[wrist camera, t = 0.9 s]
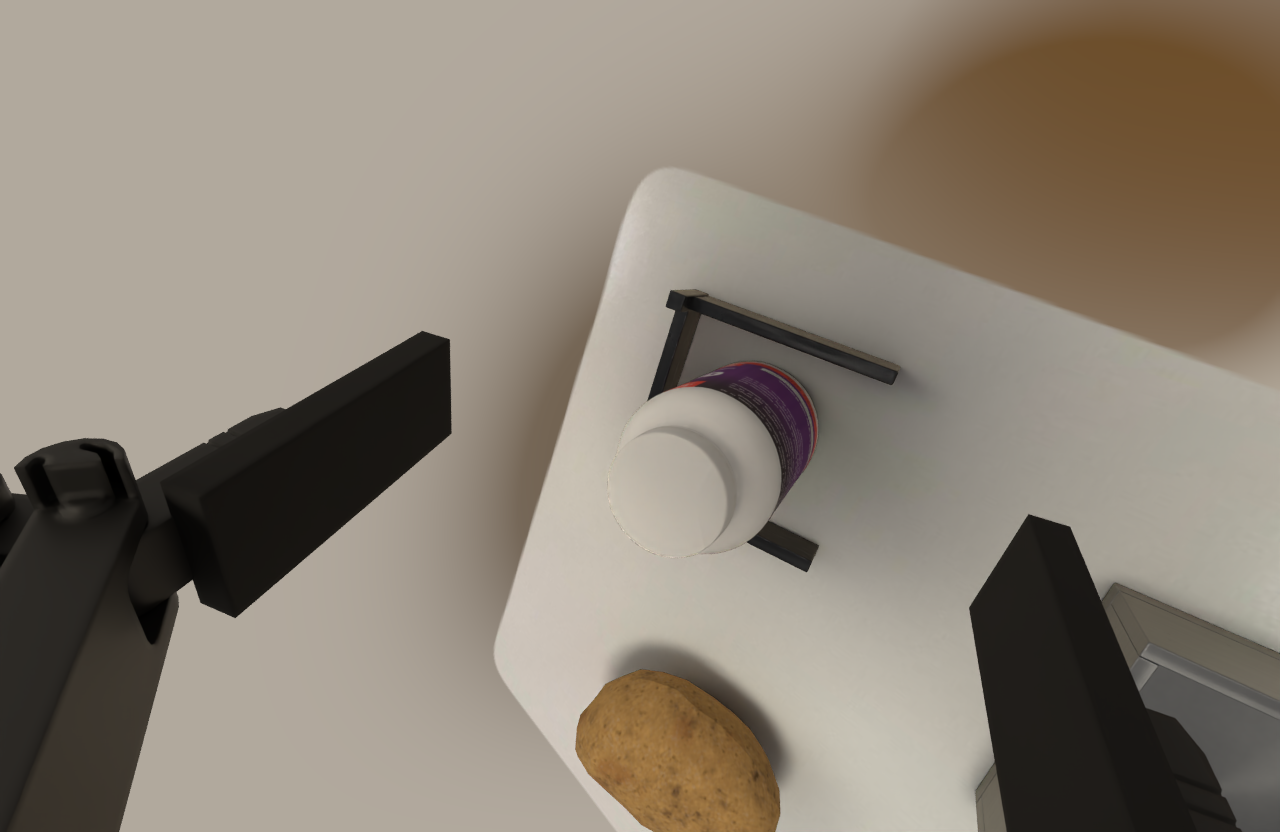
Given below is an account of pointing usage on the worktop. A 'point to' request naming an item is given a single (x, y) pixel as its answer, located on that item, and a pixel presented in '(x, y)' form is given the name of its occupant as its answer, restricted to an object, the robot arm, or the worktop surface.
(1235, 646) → the grey open square box
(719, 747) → the potato
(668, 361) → the u-shaped frame
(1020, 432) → the worktop surface
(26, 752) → the robot arm
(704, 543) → the pill bottle
